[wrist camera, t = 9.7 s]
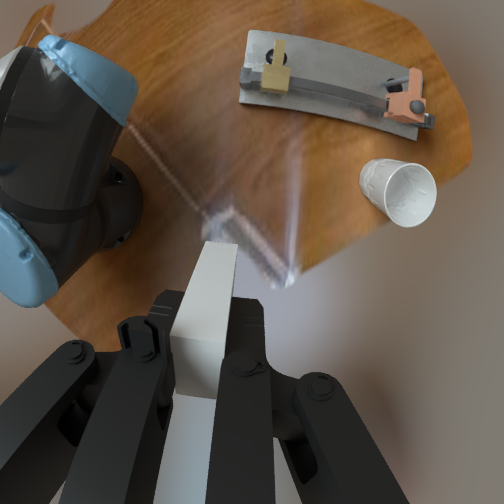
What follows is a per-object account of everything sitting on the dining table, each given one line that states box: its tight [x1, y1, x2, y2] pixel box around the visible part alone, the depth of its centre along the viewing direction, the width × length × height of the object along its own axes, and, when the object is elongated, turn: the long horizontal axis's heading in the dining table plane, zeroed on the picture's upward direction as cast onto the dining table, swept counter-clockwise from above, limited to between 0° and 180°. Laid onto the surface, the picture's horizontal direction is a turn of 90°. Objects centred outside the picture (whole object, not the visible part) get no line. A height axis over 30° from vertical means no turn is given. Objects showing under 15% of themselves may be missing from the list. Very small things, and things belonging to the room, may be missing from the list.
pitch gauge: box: [239, 30, 435, 141], centre depth 28 cm, size 26×11×7 cm, turn 83°
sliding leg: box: [383, 68, 426, 123], centre depth 26 cm, size 3×7×9 cm, turn 173°
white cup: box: [359, 158, 437, 228], centre depth 32 cm, size 8×8×10 cm
